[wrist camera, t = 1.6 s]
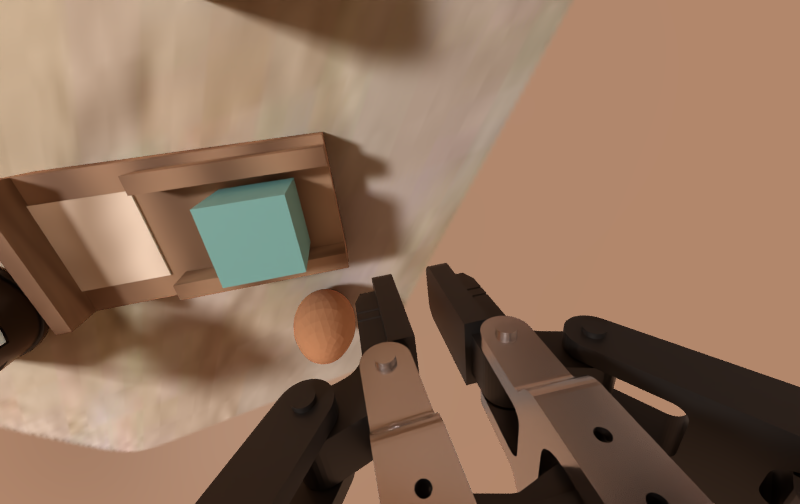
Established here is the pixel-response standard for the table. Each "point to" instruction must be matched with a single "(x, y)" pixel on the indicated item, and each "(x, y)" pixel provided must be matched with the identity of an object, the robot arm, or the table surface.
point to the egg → (324, 326)
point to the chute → (149, 224)
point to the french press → (17, 321)
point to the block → (254, 232)
